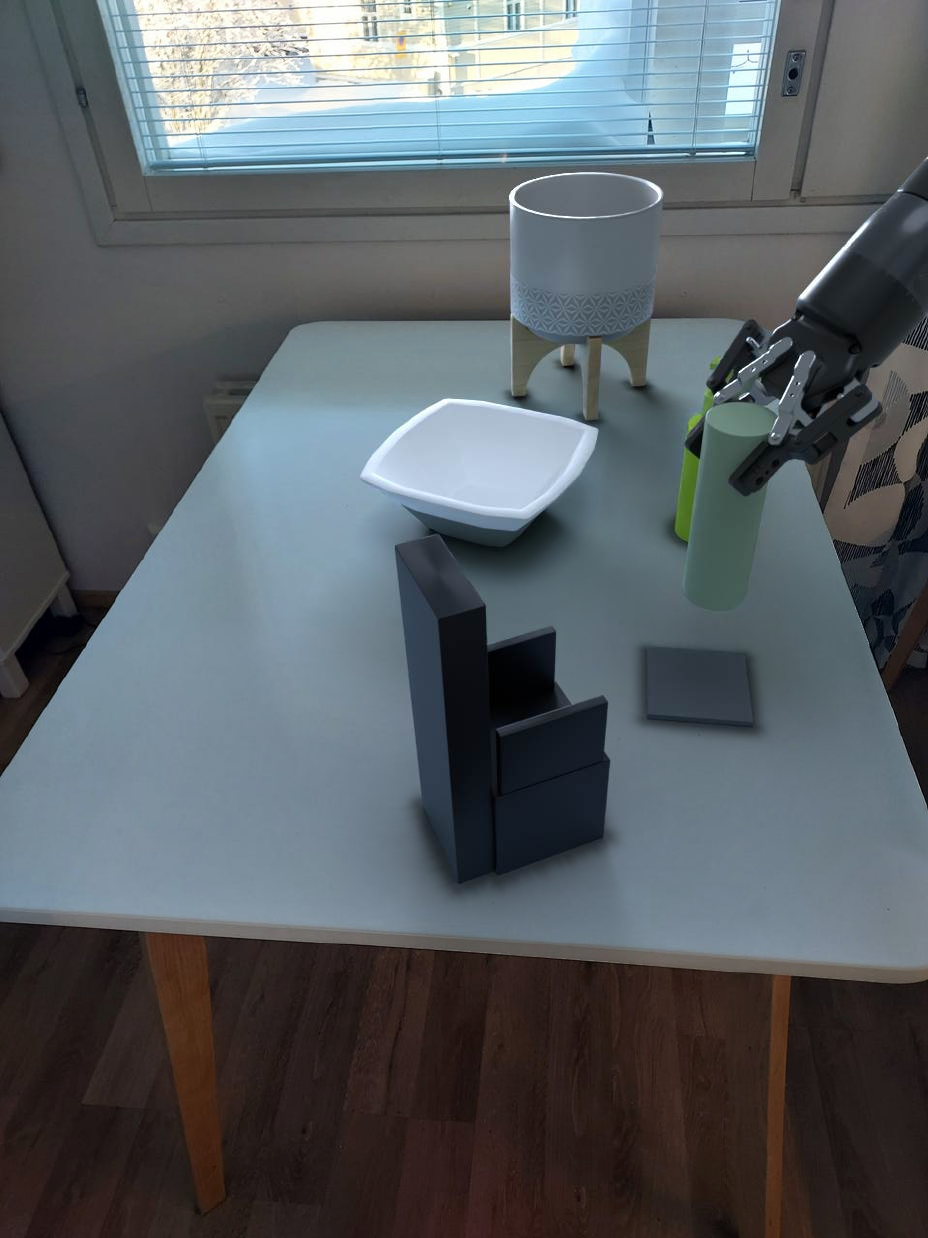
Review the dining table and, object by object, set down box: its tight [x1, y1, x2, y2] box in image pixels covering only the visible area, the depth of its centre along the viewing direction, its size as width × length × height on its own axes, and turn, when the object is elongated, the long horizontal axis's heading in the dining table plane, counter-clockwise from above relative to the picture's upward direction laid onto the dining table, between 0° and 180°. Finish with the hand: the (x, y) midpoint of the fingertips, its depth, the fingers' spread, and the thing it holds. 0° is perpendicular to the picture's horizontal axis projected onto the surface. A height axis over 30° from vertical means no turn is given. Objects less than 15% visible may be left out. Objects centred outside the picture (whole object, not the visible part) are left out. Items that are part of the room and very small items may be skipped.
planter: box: [509, 172, 665, 421], centre depth 123 cm, size 19×19×26 cm
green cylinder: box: [682, 402, 779, 612], centre depth 72 cm, size 5×5×16 cm
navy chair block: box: [394, 533, 611, 884], centre depth 66 cm, size 12×9×26 cm
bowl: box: [359, 398, 600, 548], centre depth 105 cm, size 22×23×8 cm
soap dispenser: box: [674, 356, 761, 543], centre depth 97 cm, size 6×7×20 cm
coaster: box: [646, 646, 754, 727], centre depth 84 cm, size 9×9×1 cm
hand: (714, 469), depth 69 cm, fingers closed on green cylinder, 5 cm apart
